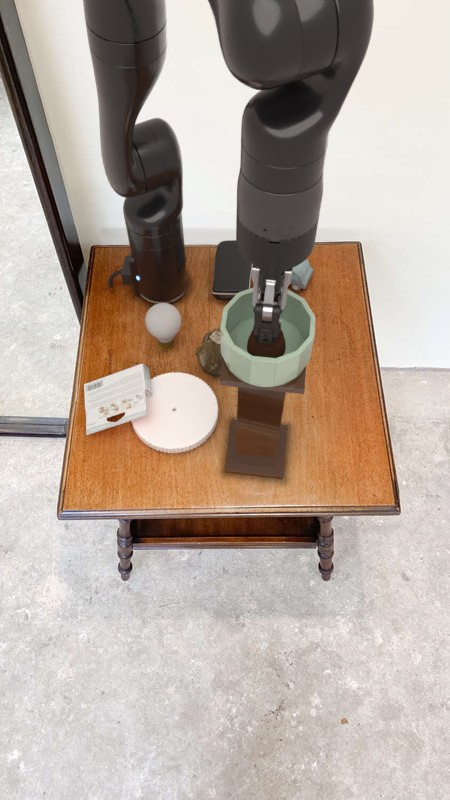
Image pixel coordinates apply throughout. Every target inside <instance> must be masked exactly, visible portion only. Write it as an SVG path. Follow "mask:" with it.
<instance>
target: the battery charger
mask: <svg viewBox="0 0 450 800" xmlns="http://www.w3.org/2000/svg"><path fill="white" fill-rule="evenodd" d="M214 255H215V256H214V264H213V265H214V266H213V282H212V287H211V293H212V295H213V297H214V298H215V299H216V300H219V301H231V300H232V299H233V298H234V297H235V295H236V294H237V293H239V292H241V291H244V290H247V289H250V288H251V282H252V267H253V264H252V263H250V262H249V261H248V260H246V259H245V258H244V257H243V255H242V254H241V253H240V251H239V249H238V246H237V242H236V239H235V240H234V239H233V240H222V241H220V242H219V243H218V244H217V245H216V250H215V254H214Z"/></svg>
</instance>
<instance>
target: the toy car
mask: <svg viewBox="0 0 450 800" xmlns="http://www.w3.org/2000/svg"><path fill="white" fill-rule="evenodd" d="M314 271H315V270H314V269H313V268H312V265H311V263H310V262H309V259H308V258H307V259H306V260H305V261H304V262H302V263H301V264H299V265H297V266H295V267H293V269H292V278H291V283H290V288H291V289H292V290H294V291H296V292H299V291H301V289H302V290H306V289H307V286H308V284H309V282H310V280H311V278H312V276H313V274H314ZM283 280H284V279H283ZM282 285H283V281H282Z"/></svg>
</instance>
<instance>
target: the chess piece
mask: <svg viewBox="0 0 450 800" xmlns="http://www.w3.org/2000/svg"><path fill="white" fill-rule="evenodd" d="M274 296H277V295H274ZM278 329H280V330H279V334H278V335H277V337H276V342H275V343H272V344H268V343H259V342H258V341H256V335H254V331H253V330H252V332H251V334H250V336H249V338H248V342H247V351H248V353H249V354H250V355H252V356H259V357H268V358H278V357H281V356H283V355H284V353H285V349H286V345H285V344H286V343H285V338H284V334H283V332H282V330H281V321H280V323H279V327H278Z"/></svg>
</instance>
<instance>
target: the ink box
mask: <svg viewBox="0 0 450 800" xmlns="http://www.w3.org/2000/svg"><path fill="white" fill-rule="evenodd" d="M150 379H151V374H150V368H149V367H148V366H147V365H146V364H145V363H139V364H136V365H134V366H130V367H128V368H125V369H122V370H120V371H116V372H113V373H111V374H108V375H106V376H103V377H100V378H97V379H95V380H92V381H89V382H86V383H84V384H83V396H84V411H85V435H86V436H90V435H92V434H95V433H99V432H102V431H104V430H109V429H111V428H114V427H117V426H120V425H123V424H125V423H129V422H131V421H132V420H135V419H138V418H141V417H144V416H147V404H146V397H148V396H150V395H152V392H151V382H150ZM123 413H124V415H123V416H122V417H121V418H120V419H118V420H117V421H110V420H109V421H108V419H109V418H112V417H114V416H115V417H116V416H117V415H120V414H123Z"/></svg>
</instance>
